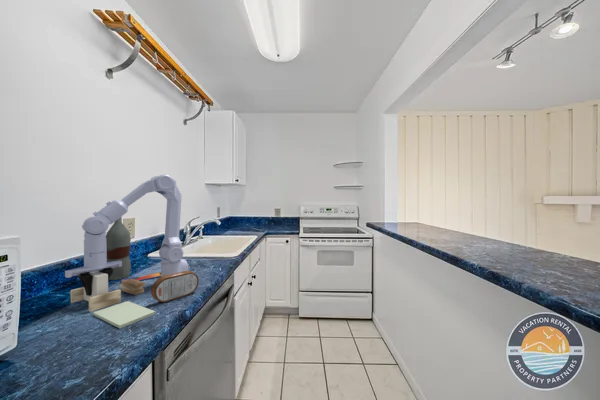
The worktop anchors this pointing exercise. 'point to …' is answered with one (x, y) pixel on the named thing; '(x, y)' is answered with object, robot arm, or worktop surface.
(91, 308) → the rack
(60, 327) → the worktop surface
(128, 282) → the offcuts
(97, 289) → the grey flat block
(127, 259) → the bottle
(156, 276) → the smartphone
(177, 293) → the tin
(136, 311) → the mat
